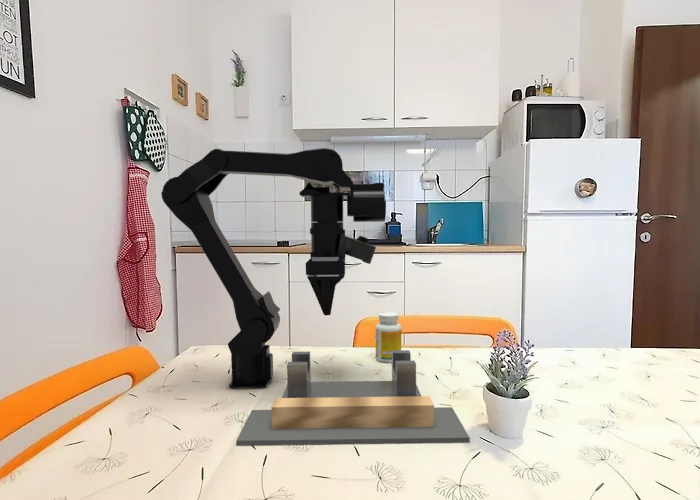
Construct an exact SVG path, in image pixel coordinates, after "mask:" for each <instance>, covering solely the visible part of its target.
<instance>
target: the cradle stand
mask: <svg viewBox="0 0 700 500" xmlns="http://www.w3.org/2000/svg"><path fill="white" fill-rule="evenodd" d="M411 356H412V354H411V351H410V350H409V349H408V350H407V349H401V350H392V363H391V380H372V381H371V380H369V381H368V380H357V381H356V380H354V381H353V380H352V381H351V380H349V381H348V380H347V381H346V380H344V381H341V380H340V381H339V380H338V381H334V380H333V381H312V380H311V379H312V374H311V373H312V372H311V351H309V350H308V351H292V353H291V361H288V362H287V365H286V373H287V374H286V375H287V376H286V378H287V380H286V381H287V384H286V386H285V389H284V392H283V395H282V397H281V398H328V397H408V396H422V394H421V392H420V389H419V387H418V385H417V363H416V361H415V360H411V359H412V357H411Z"/></svg>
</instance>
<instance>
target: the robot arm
mask: <svg viewBox="0 0 700 500" xmlns="http://www.w3.org/2000/svg"><path fill="white" fill-rule="evenodd" d="M228 175H248V176H249V175H250V176H252V175H253V176H269V177H291V178H295V179H298V180H303V181H307V184H306V186H305V187H304V188H303V189H302V190H301V191H299V192H298V193H299V196H300V197H302V198H310V228H309V234H310V235H311V237H310V239H311V241H310V242H311V243H310V244H311V248H310V249H311V251H310V254H309V255H310V256H309V257H310V258H309V259H308V260H307V261H306V262H305V275H306V279H308V282H309V284H310V286H311V288H312V290H313V293H314V295H315V297H316V299H317V300H316V301H317V302H318V304H319V307H320V308H321V312H322V314H323V315H324V316H330V315H331V314H332V307H333V302H334V297H335V290H336V287H337V284H339V283H340V282H342V280H343V279H344V278H345V277H346V256H349V257H351V258H354V259H358V260H361V261H362V262H363V263H366V264H368V265H369V264H371V263H372V260H373V257H374V255H375V251H376V249H377V247H376V246H374V245H372V244H370V243H369V240H368V237H366V236H363V235H359V236H358V237H357V238H352V237H349V236H346V229H344V198H345V197H346V216H347V217H352V220H353V222H354V223H365V222H366V223H371V222H372V223H375V222H378V223H379V222H380V223H381V222H382V223H383V222H384V223H385V222H386V217H387V215H386V214H387V201H386V199H385V190H384V188H385V185H384V183H383V182H375V183H374V182H373V183H364V184H363V183H354V181H352V178H351V177H349V175H348V174H347V173H346V171H344V168H343V159H342V158H341V155H340V154H339V153H338V152H337V151H336V150H335V149H333V148H330V147H321V148H312V149H311V148H310V149H305V150H302V151H298V152H291V153H286V152H284V153H283V152H282V153H281V152H266V151H265V152H261V151H244V150H243V151H241V150H224V149H221V148H214V149H211V150H210V151H209V152H208V153H207V154H206V155H204V157H202V158H201V159H200V160H198V161H196V162H195V163H194V164H192V165H190V166H189V167H187V168H186V169H184V170H183V171H182V172H181V173H180V174H179V175H178V176H174V177H172V178H169V179H168V180H167V181H166V182H165V183H164V185H163V187H162V191H161V199H162V201H163V203H164V204H165V206H166V207H167V208H168V209H169V210H170V212H171V213H172V214H173V215H174V217H176V218H177V219H178V220H179V221H180V222H181V223H182V224H183V225H184V226H186V227H187V228H188V229H189V230H190V231H191V233H192V234H193V236H194V238H195V239H196V240H197V242H198V244H199V246H200V248H201V249H202V251H203V253H204V254H205V256H206V258H207V259H208V261H209V263H210V264H211V267H212V268H213V269H214V271H215V273H216V275H217V277H218V278H219V279H220V281H221V283H222V285H223V286H224V288H225V290H226V292H227V293H228V295H229V297H230V299H231V301H232V303H233V304H232V305H233V309H234V313H235V319H236V322H237V325H238V327H239V330H240V331H239V332H238V333H237V334H236V335H235V336H234V337H233V338H232V339H231V340H230V341H229V342H228V343H227V347H228V349H229V353H230V356H231V358H230V359H231V362H230V363H231V381H230V383H229V385H228V388H230V389H239V388H240V389H244V388H246V389H247V388H248V389H249V388H250V389H251V388H259V389H261V388H266V387H267V386H268V384H269V383H270V381H271V380H272V378H273V376H274V354H273V353H270V352H271V351H270V345H269V344H266V343H267V342H269V341H270V340H271V338H273V335H275V332H276V331H277V330H278V328H279V326H280V323H281V318H280V317H281V316H280V313H279V312H280V310H281V308H280V307H278V305H277V304H276V303H275V301H274V298H273V296H272V294H271V292H270V291H267V292H266V293H264V294H262V293H261V292H260V291H259V290H257V289H256V287H255V285H253V283H252V282H251V280H250V277H249V276H248V274H247V273H246V271H245V269H244V268H243V266H242V264H241V263H240V261H239V259H238V258H237V256H236V254H235V252H234V251H233V248H232V247H231V246H230V245H231V244H229V241H228V240H227V239H226V237H225V235H224V233H223V232H222V230H221V228H220V227H219V224H218V222H217V221H216V218H215V214H214V213H215V211H214V206H213V203H212V201H211V198H210V195H212V194H213V193H214V192H215V191H216V190H217V189H218V187H219V186H220V185H221V183H222V182H223V181H224V179H225V178H226V177H227V176H228ZM310 182H311V183H315V184H319V185H324V186H314V185H312V184H311V183H310ZM330 185H331V186H333V187H335V188H336V189H338V190H339V191H342V192H331V186H330ZM343 191H344V192H343ZM347 191H349V192H347Z"/></svg>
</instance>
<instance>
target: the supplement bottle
mask: <svg viewBox="0 0 700 500" xmlns="http://www.w3.org/2000/svg"><path fill="white" fill-rule="evenodd" d="M378 321H379V322H377V324H376V326H375V358H376V360H377V362H381V363H388V364H392V350H402V326H401V324H400V323H399V322H398V321H399V313H397V312H393V311H384V312H380V313H378Z"/></svg>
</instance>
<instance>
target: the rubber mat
mask: <svg viewBox="0 0 700 500" xmlns="http://www.w3.org/2000/svg"><path fill="white" fill-rule="evenodd" d="M470 442H471V437H470V436H469V434H468V432H467V431H466V429H465V427H464V425H463V424H462V422H461V421H460V418H459V417H458V415H457V413H456V412H455V410H454V409H453V407H446V406H445V407H438V406H437V407H434V427H379V428H303V429H272V409H252V410H251V411H250V412H249V415H248V417H247V419H246V421H245V422H244V425H243V427H242V429H241V431H240V432H239V435H238V437H237V439H236V442H235V443H236V444H235V445H236V446H269V445H270V446H273V445H274V446H276V445H280V446H283V445H286V446H287V445H289V446H290V445H293V446H295V445H334V444H335V445H347V444H348V445H349V444H350V445H354V444H356V445H357V444H415V443H416V444H417V443H418V444H421V443H422V444H423V443H424V444H429V443H431V444H432V443H470Z"/></svg>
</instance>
